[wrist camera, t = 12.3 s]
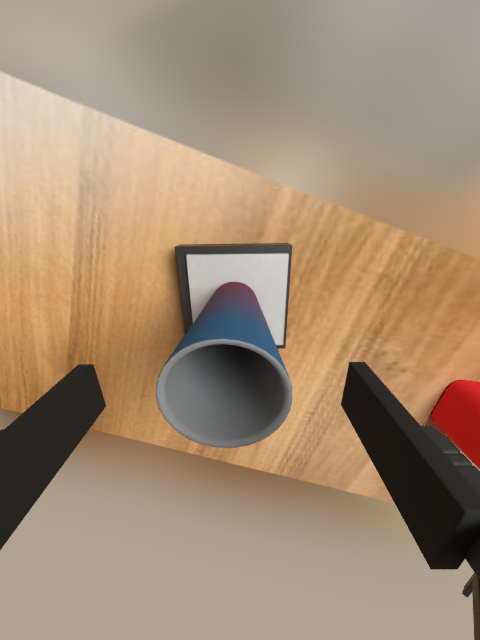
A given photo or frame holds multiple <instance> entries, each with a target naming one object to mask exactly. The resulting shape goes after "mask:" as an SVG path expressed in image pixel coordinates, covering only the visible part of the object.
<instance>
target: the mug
mask: <svg viewBox="0 0 480 640" xmlns="http://www.w3.org/2000/svg"><path fill="white" fill-rule="evenodd" d="M431 418H432V420H433V421H434V422H435V423H436V424H437V425H438V426H439V428H440V429H441V430H442V431H443V432H444V433H445V434H446V435H447V436H448V437H449V438H450V439H451V440H452V441H453V442H454V443H455V444H456V445H457V446H458V447H459V448H460V449H461V450H462V451H463V452H464V453H465V454H466V455H467V456H468V457H469V459H470V460H471V461H472V462H473V463H474V464H475V465H476V466H477V467H478V468H479V469H480V382H473V381H466V380H459V381H455V382H453V383H451V384H450V385H449V386H448V388H447V389H446V391H445V393H444V394H443V396H442V397H441V399H440V401H439V402H438V404H437V406H436V407H435V409H434V410H433V412H432V415H431Z"/></svg>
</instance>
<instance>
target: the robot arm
mask: <svg viewBox="0 0 480 640" xmlns="http://www.w3.org/2000/svg"><path fill="white" fill-rule="evenodd" d="M341 405H342V407H343V409H344V411H345V413H346V414H347V416H348V418H349V420H350V422H351V424H352V425H353V427H354V429H355V431H356V433H357V435H358V436H359V438H360V440H361V442H362V444H363V446H364V447H365V449H366V451H367V453H368V455H369V457H370V458H371V460H372V462H373V464H374V466H375V468H376V469H377V471H378V473H379V475H380V477H381V479H382V480H383V482H384V484H385V486H386V488H387V490H388V491H389V493H390V495H391V497H392V499H393V501H394V502H395V504H396V506H397V508H398V510H399V512H400V513H401V515H402V517H403V519H404V521H405V523H406V524H407V526H408V528H409V530H410V532H411V533H412V535H413V537H414V539H415V541H416V543H417V545H418V546H419V548H420V550H421V552H422V554H423V556H424V557H425V559H426V561H427V563H428V565H429V567H430V569H458V567H459V566H460V565H461V563H462V562H463V561H464V559H466V560H467V562H468V563H469V565H470V566H471V568H472V569H473V571H474V572H475V573H474V574H473V575H472V577H471V578H470V579H469V581H468V582H467V583H466V585H465V586H464V589H463V595H465V596H466V597H468V596H469V595H470V594H471V592H472V591H473V614H474V639H475V640H480V471H479V470H478V469H477V468H476V467H475V466H472V463H471V462H470V461H469V460H468V459H467V458H466V457H465V456H464V455H463V454H461V453H460V450H459V449H458V448H457V447H456V446H455V445H454V444H453V443H452V442H451V441H450V440H449V439H448V438H447V437H446V436H444V435H443V434H441V433H440V432H438V431H437V430H436V429H434V428H433V427H431V426H420V425H419V423H418V422H417V421H416V420H415V419H414V418H413V417H412V416H411V414H410V413H409V412H408V411H407V410H406V409H405V408H404V406H403V405H402V404H401V403H400V402H399V401H398V400H397V398H396V397H395V396H394V395H393V394H392V393H391V392H390V390H389V389H388V388H387V387H386V386H385V385H384V384H383V382H382V381H381V380H380V379H379V378H378V377H377V376H376V374H375V373H374V372H373V371H372V370H371V369H370V368H369V367H368V365H367V364H366V363H365V362H349V367H348V372H347V377H346V382H345V387H344V392H343V397H342V402H341ZM105 407H106V404H105V401H104V398H103V394H102V391H101V388H100V385H99V381H98V378H97V375H96V372H95V368H94V365H93V364H88V365H77V366H76V367H75V368H74V369H73V370H72V371H71V372H70V373H68V374H67V375H66V376H65V377H64V378H63V379H62V380H60V381H59V382H58V383H57V384H56V385H55V386H54V387H52V388H51V389H50V390H49V391H48V392H47V393H46V394H44V395H43V396H42V397H41V398H40V399H39V400H38V401H36V402H35V403H34V404H33V405H32V406H31V407H30V408H28V409H27V410H26V411H25V412H24V413H23V414H22V415H20V416H19V417H18V418H17V419H16V420H15V421H14V422H13V423H11V424H10V425H9V426H8V427H7V428H6V429H4V430H0V550H1V548H2V547H3V546H4V544H5V543H6V541H7V540H8V539H9V537H10V536H11V535H12V533H13V532H14V531H15V529H16V528H17V526H18V525H19V524H20V522H21V521H22V520H23V518H24V517H25V515H26V514H27V513H28V512H29V510H30V509H31V507H32V506H33V505H34V503H35V502H36V501H37V499H38V498H39V497H40V495H41V494H42V493H43V491H44V490H45V488H46V487H47V486H48V484H49V483H50V482H51V480H52V479H53V478H54V476H55V475H56V473H57V472H58V471H59V469H60V468H61V467H62V465H63V464H64V462H65V461H66V460H67V459H68V457H69V456H70V454H71V453H72V452H73V450H74V449H75V448H76V446H77V445H78V444H79V442H80V441H81V439H82V438H83V437H84V435H85V434H86V433H87V431H88V430H89V429H90V427H91V426H92V425H93V423H94V422H95V420H96V419H97V418H98V416H99V415H100V414H101V412H102V411H103V410H104V408H105Z"/></svg>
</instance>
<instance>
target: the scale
mask: <svg viewBox="0 0 480 640" xmlns="http://www.w3.org/2000/svg"><path fill="white" fill-rule="evenodd" d="M175 251H176V260H177V268H178V277H179V286H180V294H181V303H182V312H183V320H184V329H185V334H186V333H187V331H188V330H189V329H190V327H191V326H192V324H193V323H194V321H195V320H196V318H197V317H198V315H199V314H200V313H201V311H202V310H203V308H204V307H205V305H206V304H207V302H208V301H209V300H210V298H211V297H212V295H213V294H214V292H215V291H216V290H217V289H218V288H219V287H220V286H221V285H223V284H225V283H228V282H241V283H244V284H246V285H247V286H249V287H250V288H251V289H252V290H253V291H254V293H255V295H256V297H257V300H258V302H259V305H260V307H261V310H262V312H263V314H264V317H265V319H266V322H267V324H268V327H269V329H270V332H271V334H272V337H273V339H274V342H275V344H276V346H277V348H285V343H286V328H287V314H288V299H289V285H290V270H291V256H292V245H291V244H288V243H268V244H194V245H179V246H176V247H175Z"/></svg>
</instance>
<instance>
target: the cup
mask: <svg viewBox="0 0 480 640" xmlns="http://www.w3.org/2000/svg"><path fill="white" fill-rule="evenodd" d="M156 397H157V402H158V405H159V409H160V411H161V412H162V414H163V416H164V418H165V419H166V420H167V422H168V423H169V424H170V425H171V426H172V427H173V428H174V429H175V430H176V431H177V432H179V433H180V434H181V435H183V436H185V437H186V438H188V439H190V440H192V441H195V442H197V443H200V444H203V445H207V446H211V447H220V448H235V447H242V446H247V445H250V444H253V443H256V442H259V441H261V440H262V439H264V438H266V437H268V436H270V435H271V434H272V433H273V432H274V431H276V430H277V429H278V428H279V427H280V426H281V424H282V423H283V422H284V421H285V419H286V417H287V415H288V413H289V411H290V408H291V404H292V386H291V382H290V378H289V376H288V374H287V371H286V369H285V366H284V364H283V361H282V359H281V356H280V354H279V351H278V349H277V346H276V344H275V342H274V339H273V337H272V334H271V332H270V329H269V327H268V324H267V322H266V319H265V317H264V314H263V312H262V310H261V307H260V305H259V302H258V300H257V297H256V295H255V293H254V291H253V290H252V289H251V288H250V287H249V286H247V285H246V284H244V283H241V282H228V283H225V284H223V285H221V286H220V287H219V288H218V289H217V290H216V291H215V292H214V294H213V295H212V297H211V298H210V300H209V301H208V302H207V304H206V305H205V307H204V308H203V310H202V311H201V313H200V314H199V315H198V317H197V318H196V320H195V321H194V323H193V324H192V326H191V327H190V329H189V330H188V331H187V333H186V334H185V336H184V337H183V339H182V340H181V342H180V343H179V344H178V346H177V347H176V349H175V350H174V352H173V353H172V355H171V356H170V358H169V359H168V360H167V362H166V363H165V365H164V366H163V368H162V370H161V372H160V374H159V376H158V381H157V385H156Z"/></svg>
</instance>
